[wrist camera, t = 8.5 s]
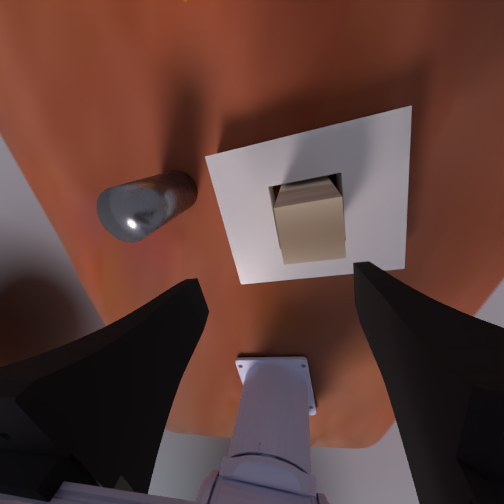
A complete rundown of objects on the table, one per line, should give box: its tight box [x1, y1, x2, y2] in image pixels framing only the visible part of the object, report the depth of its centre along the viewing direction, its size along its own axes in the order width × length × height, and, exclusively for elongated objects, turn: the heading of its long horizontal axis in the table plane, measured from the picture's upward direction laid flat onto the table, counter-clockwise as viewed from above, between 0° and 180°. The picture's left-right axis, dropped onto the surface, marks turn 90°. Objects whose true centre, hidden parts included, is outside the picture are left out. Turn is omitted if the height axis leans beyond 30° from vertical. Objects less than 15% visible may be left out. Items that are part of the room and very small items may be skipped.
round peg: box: [97, 170, 197, 242], centre depth 16 cm, size 3×3×7 cm
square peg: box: [274, 175, 346, 265], centre depth 15 cm, size 3×3×7 cm
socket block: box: [205, 105, 412, 284], centre depth 17 cm, size 10×12×2 cm
